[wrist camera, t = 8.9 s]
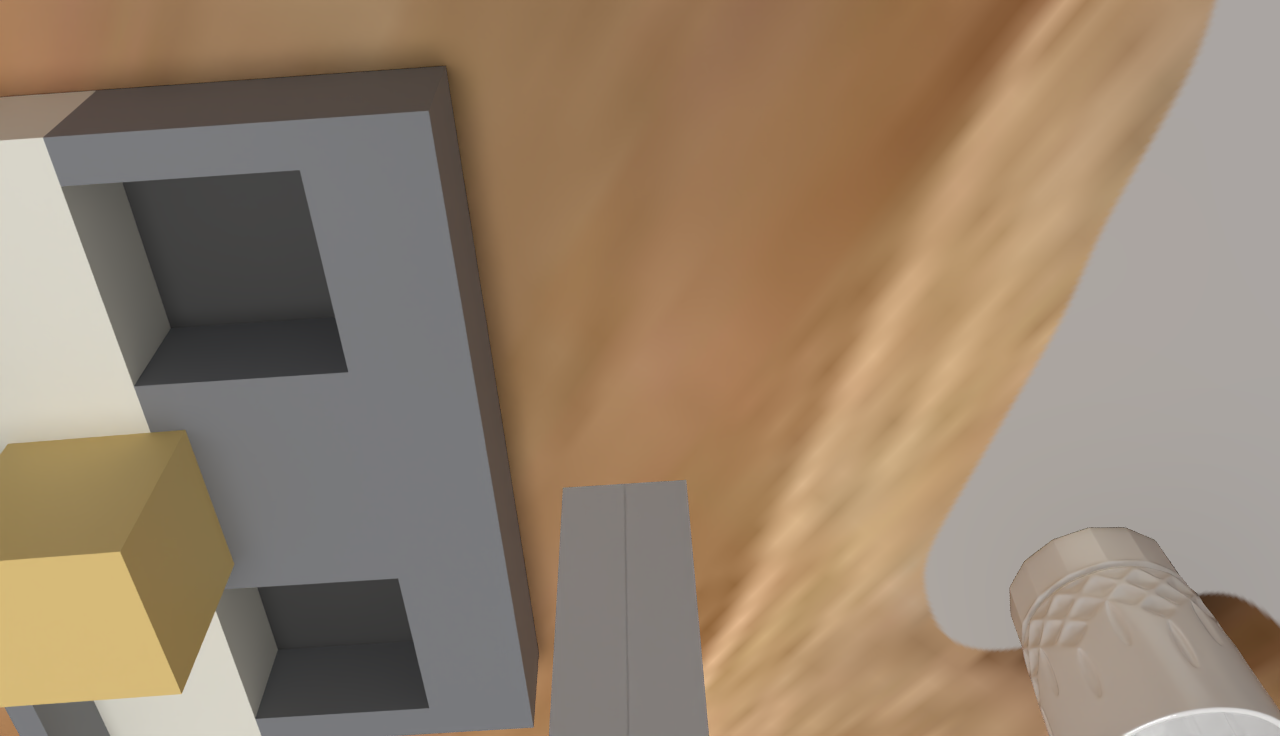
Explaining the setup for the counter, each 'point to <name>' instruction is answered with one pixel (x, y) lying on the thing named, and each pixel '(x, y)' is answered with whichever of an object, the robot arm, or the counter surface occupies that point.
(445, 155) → the tray
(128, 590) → the ochre cube
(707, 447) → the counter surface
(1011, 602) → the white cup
